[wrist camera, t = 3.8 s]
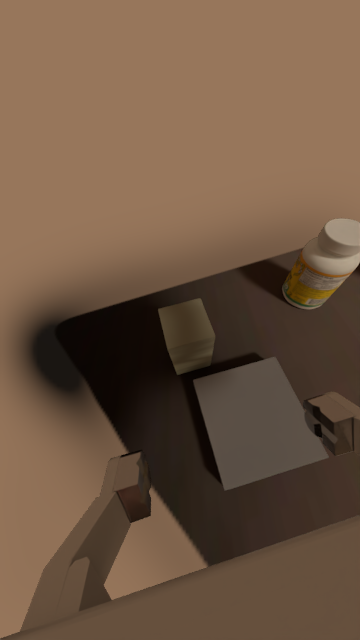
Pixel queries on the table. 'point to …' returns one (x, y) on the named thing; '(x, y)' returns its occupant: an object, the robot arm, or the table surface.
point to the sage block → (188, 335)
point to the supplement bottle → (324, 264)
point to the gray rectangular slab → (255, 423)
